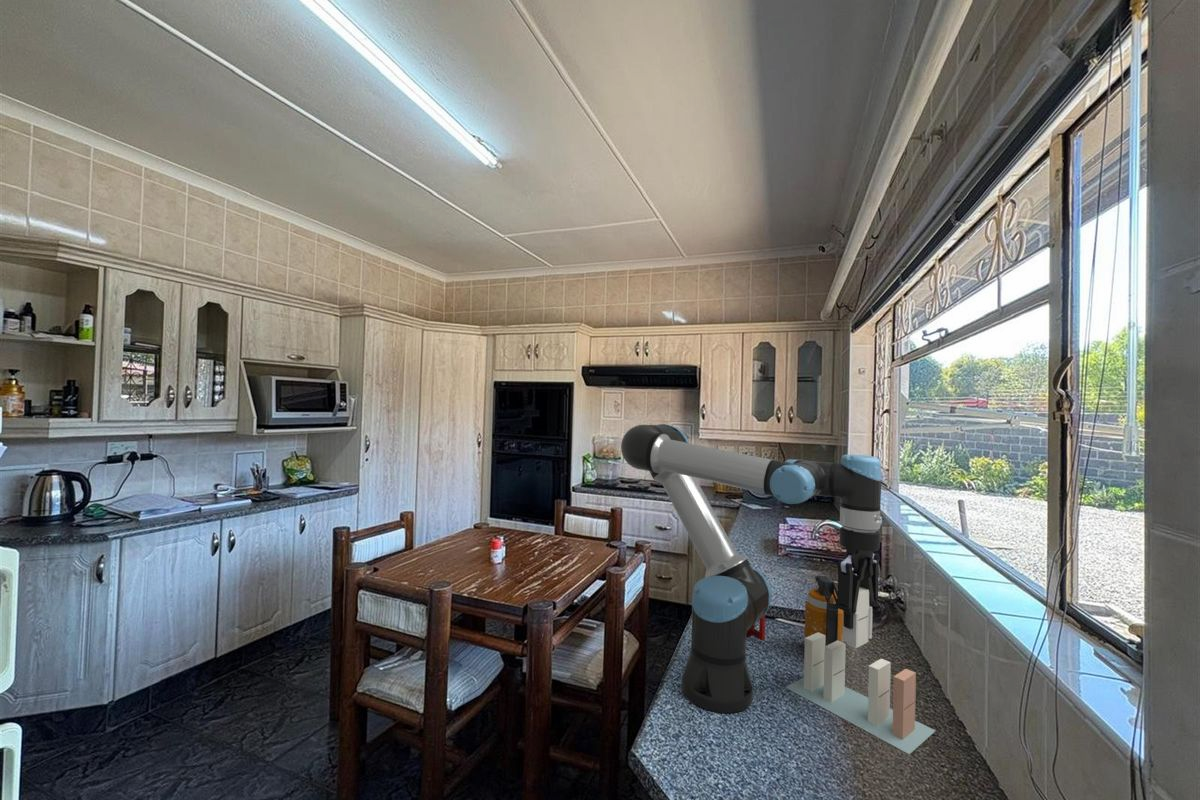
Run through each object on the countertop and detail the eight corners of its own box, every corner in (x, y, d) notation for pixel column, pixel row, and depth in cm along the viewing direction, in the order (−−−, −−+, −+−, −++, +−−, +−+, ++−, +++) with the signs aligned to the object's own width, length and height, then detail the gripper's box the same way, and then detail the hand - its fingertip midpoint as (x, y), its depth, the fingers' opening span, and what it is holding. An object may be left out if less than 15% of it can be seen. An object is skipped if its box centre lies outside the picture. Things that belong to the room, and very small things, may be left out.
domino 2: (823, 698, 103) (824, 646, 104) (836, 690, 106) (837, 640, 107) (831, 702, 102) (832, 650, 102) (844, 694, 105) (845, 643, 105)
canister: (834, 649, 126) (836, 573, 127) (852, 671, 115) (854, 588, 116) (799, 646, 127) (801, 570, 128) (813, 668, 116) (816, 585, 117)
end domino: (892, 734, 92) (893, 676, 92) (904, 724, 95) (905, 668, 96) (902, 739, 91) (904, 680, 91) (914, 729, 94) (916, 672, 94)
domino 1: (803, 687, 107) (804, 637, 107) (816, 680, 110) (817, 632, 111) (811, 691, 106) (812, 641, 106) (824, 684, 109) (825, 635, 109)
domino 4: (867, 721, 96) (868, 665, 96) (880, 712, 99) (881, 658, 99) (877, 726, 94) (878, 669, 95) (889, 717, 98) (890, 662, 98)
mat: (785, 688, 107) (785, 687, 107) (814, 673, 114) (814, 671, 114) (909, 755, 87) (909, 754, 87) (935, 732, 94) (935, 730, 94)
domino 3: (846, 644, 100) (847, 591, 100) (859, 638, 103) (860, 586, 103) (855, 648, 98) (856, 594, 99) (868, 641, 101) (869, 589, 102)
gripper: (856, 537, 93) (853, 659, 92) (898, 527, 104) (896, 635, 103) (819, 529, 99) (816, 643, 98) (862, 520, 110) (860, 622, 109)
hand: (857, 639), depth 101 cm, fingers closed on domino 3, 5 cm apart
